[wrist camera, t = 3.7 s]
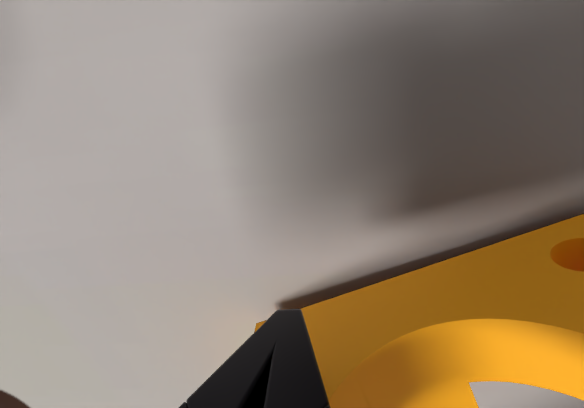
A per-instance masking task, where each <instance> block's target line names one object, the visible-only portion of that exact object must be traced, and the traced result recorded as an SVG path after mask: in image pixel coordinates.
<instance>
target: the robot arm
mask: <svg viewBox="0 0 584 408" xmlns="http://www.w3.org/2000/svg"><path fill="white" fill-rule="evenodd" d="M179 408H331V407H330V404H329V400H328V397H327V394H326V390H325V387H324V384H323V380H322V377H321V374H320V370H319V367H318V363H317V360H316V357H315V353H314V350H313V347H312V343H311V340H310V337H309V333H308V330H307V326H306V323H305V320H304V316H303V313H302V310H301V309H286V310H277V311H276V312H275V313H274V314H273V315H272V316H271V317H270V318H269V319H268V320H267V321H266V322H265V323H264V324H263V325H262V326H261V327H260V328H259V329H258V330H257V331H256V332H255V333H254V334H253V335H252V336H251V337H250V338H249V339H248V340H247V341H246V342H244V343H243V344H242V345H241V346H240V347H239V348H238V349H237V350H236V351H235V352H234V353H233V354H232V355H231V356H230V357H229V358H228V359H227V360H226V361H225V362H224V363H223V364H222V365H221V366H220V367H219V368H218V369H217V370H216V371H215V372H214V373H213V374H212V375H211V376H210V377H209V378H208V379H207V380H206V381H205V382H204V383H203V384H202V385H201V386H200V387H199V388H198V389H197V390H196V391H195V392H194V393H193V394H192V395H191V396H190V397H189V398H188V399H187V403H186V402H184V403H183V404H182V405H181V406H180V407H179Z"/></svg>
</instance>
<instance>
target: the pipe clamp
mask: <svg viewBox="0 0 584 408" xmlns="http://www.w3.org/2000/svg"><path fill="white" fill-rule="evenodd" d="M301 310H302V313H303V316H304V320H305V323H306V326H307V330H308V333H309V337H310V340H311V343H312V347H313V350H314V353H315V357H316V360H317V363H318V367H319V370H320V374H321V377H322V380H323V384H324V387H325V390H326V394H327V397H328V400H329V404H330V407H331V408H479V407H478V405H477V402H476V400H475V397H474V395H473V392H472V390H471V388H470V385H469V383H468V382H479V381H500V382H513V383H520V384H527V385H532V386H537V387H541V388H546V389H550V390H553V391H557V392H560V393H563V394H567V395H570V396H573V397H576V398H578V399H581V400H583V401H584V214H582V215H579V216H576V217H573V218H570V219H567V220H564V221H561V222H558V223H555V224H552V225H549V226H546V227H543V228H540V229H537V230H534V231H531V232H528V233H525V234H522V235H519V236H516V237H513V238H510V239H507V240H504V241H501V242H498V243H495V244H492V245H489V246H486V247H483V248H480V249H477V250H474V251H471V252H468V253H465V254H462V255H459V256H456V257H453V258H450V259H447V260H444V261H441V262H438V263H435V264H432V265H429V266H426V267H423V268H420V269H418V270H415V271H412V272H409V273H406V274H403V275H400V276H397V277H394V278H391V279H388V280H385V281H382V282H379V283H376V284H373V285H370V286H367V287H364V288H361V289H358V290H355V291H352V292H349V293H346V294H343V295H340V296H337V297H334V298H331V299H328V300H325V301H322V302H319V303H316V304H313V305H310V306H307V307H304V308H301ZM266 321H267V320H265V321H262V322H259V323H256V328H255V332H256V331H257V330H258V329H259V328H260V327H261V326H262V325H263V324H264V323H265V322H266ZM255 332H254V333H255Z"/></svg>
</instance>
